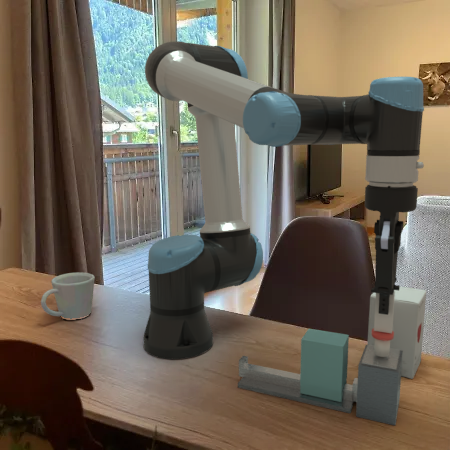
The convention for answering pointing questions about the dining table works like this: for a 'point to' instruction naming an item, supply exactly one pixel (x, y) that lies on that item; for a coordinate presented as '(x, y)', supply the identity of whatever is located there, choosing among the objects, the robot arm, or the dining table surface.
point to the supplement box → (405, 326)
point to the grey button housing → (379, 385)
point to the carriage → (324, 364)
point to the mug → (71, 295)
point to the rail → (289, 386)
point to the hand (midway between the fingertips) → (383, 330)
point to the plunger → (382, 343)
